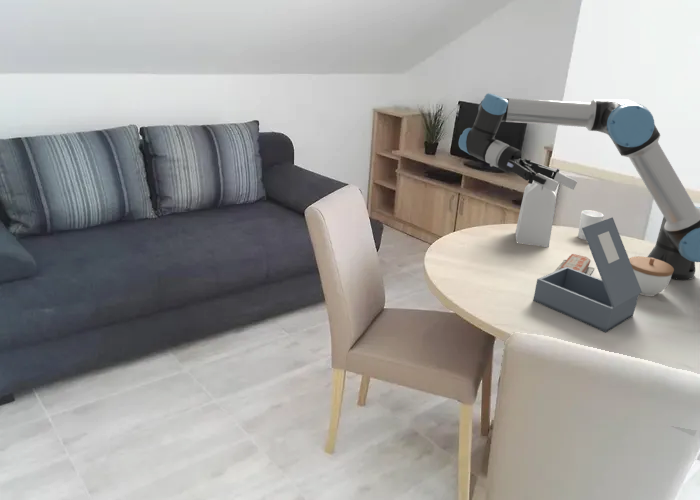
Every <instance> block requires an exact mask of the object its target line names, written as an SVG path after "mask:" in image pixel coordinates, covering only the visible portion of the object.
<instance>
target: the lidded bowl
mask: <svg viewBox="0 0 700 500" xmlns="http://www.w3.org/2000/svg"><path fill="white" fill-rule="evenodd" d="M628 258H629V260H630V263H631V265H632V268H633V270H634V273H635V276H636V278H637V281H638V283H639V286H640V288H641V291H642V292H641V293H639V296H640V295H641V296H645V297H655V296H656V295H657V294H659V293H662V292H663V291H664V290H665V289H666V288H667V287H668V286H669V283H670V281H671V280H672V279H671V276H672V274H673V271H674V268H673V267H672V266H671V265H670V264H668V263H666V262H664V261H661V260H658V259H655V258H650V257H648V256H643V255H642V256H639V255H638V256H636V255H635V256H631V257H628Z"/></svg>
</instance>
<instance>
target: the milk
mask: <svg viewBox="0 0 700 500" xmlns="http://www.w3.org/2000/svg"><path fill="white" fill-rule="evenodd" d="M522 196H523V197H522V200H521V205H520V209H519V213H518V218H517V219H518V220H517V224H516V229H515V232H516V233H515V241H516V242H518V243H517V244H521V243H523V244H522V245H528V244H530V246H535V245H537V247H543V248H549V247H550V240H551V236H552V230H553V229H552V228H553V222H554V216H555V209H556V203H557V195H556V191H555V192H553V191H551V190H549V189H547V188H545V187H543V186H541V185H539V184H537V183H535V182H534V180H533V182H532V184H530V183H528V184H527V185H526V186H525V188H524V191H523V195H522Z"/></svg>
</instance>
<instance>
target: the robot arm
mask: <svg viewBox="0 0 700 500" xmlns="http://www.w3.org/2000/svg"><path fill="white" fill-rule="evenodd" d="M503 122H504V123H505V122H506V123H520V124H521V123H522V124H535V125H536V124H537V125H549V126H551V125H552V126H562V127H563V126H564V127H565V126H566V127H577V128H578V127H579V128H586V129H587V131H589V132H590V131H592V132H600V133H603V134H606V135H607V136H609V138H610V140H611V141H612V143H613V144H614V146H615V147H616V149H617V151H618V152H619V154H620V156H622V157H626V158H629V160H630V163H632V165H633V167H634V169H635V170H636V172H637V173H638V174H639V175H638V176H639V177H640V179H641V181H642V182H643V184H644V186H645V187H646V189H647V191H648V192H649V194H650V195H651V197H652V199H653V200H654V202H655V204H656V206H657V207H658V209H659V210H660V212H661V214H662V222H661V225H660V228H659V231H658V235H657V239H656V242H655V246H653V249H651V251H650V253H649V254H647V255H648V256H647V257H650V258H655V259H658V260H661V261H664V262H666V263H668V264H670V265H671V266H672V267H673V268H674V271H673V274H672V276H671V279H670V280H679V281H680V280H681V281H686V280H687V281H688V280H691V279H693V278H694V277H695V274H696V263H700V207H699V206H695V203H694V202H693V201H692V198H691V197H690V195H689V193H688V191H687V190H686V188H685V186H684V185H683V182H682V181H681V180H680V178H679V176H678V174H677V173H676V171H675V169H674V167H673V166H672V164H671V162H670V160H669V158H668V157H667V155H666V154H665V152H664V150H663V148H662V147H661V145H660V144H659V140H660V138H661V133H660V131H659V130H658V128H657V127H656V124H655V119H654V116H653V114H652V113H651V111H650V110H649V109H648V108H647V107H646V106H644V105H643V104H640V103H637V102H635V101H633V100H630V99H625V98H623V99H622V98H621V99H620V98H619V99H618V98H617V99H592V100H591V101H590V102H583V101H582V102H581V101H565V100H562V101H561V100H549V99H548V100H547V99H528V98H514V97H513V98H506V97H502V96H500V95H497V94H495V93H490V92H488V93H486V94H485V95H484V98H483V99H482V100H481V101H480V103H479V105H478V112H477V115H476V118H475V121H474V123H473V124H472V127H467V128H465V129H464V130H463V131H462V134H460V135H459V139H458V147H459V149H460V150H461V151H463V152H465V153H467V154H468V155H469V156H473V157H474V158H477V159H478V160H480V161H483V162H485V163H487V164H489V166H490V167H491V168H492V167H496V168H498V169H499V170H501V171H503V172H505V173H507V174H510V173H514V174H516V175H517V176H519V177H520V178H522V179H523V180H525V181H527V183H528V184H529V183H530V184H532V182H533V180H534V182H535V183H537V184H539V185H541V186H543V187H545V188H547V189H549V190H551V191H553V192H555V193H556V190H557V189H558V186H559V184H560V185H563V186H564V187H566V188H568V189H570V190H575V188H576V185H577V184H578V182H579V181H578V180H577V179H574V178H572V177H570V176H568V175H565V174H563V173H562V172H560V169H559V168H557V169H554V168H552V167H549V166H546V165H544V164H542V163H538V162H536V161H533V160H531V159H528V158H522V157H523V156H522V151H521V149H518V148H516V147H514V146H511V145H509V144H508V143H505V142H503V141H502V140H499V139H496V137H495V136H496V135H497V132H498V130H499V127H500V125H501V123H503Z"/></svg>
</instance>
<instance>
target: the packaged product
mask: <svg viewBox="0 0 700 500" xmlns="http://www.w3.org/2000/svg"><path fill="white" fill-rule="evenodd" d="M591 261H592V260H591V259H590V258H589V257H587V256H583V255H580V254H575V253H571V254H570V255H569V256H568V257H567V259H563V261H562V262H561V263H560V264H559V266H557V267H556V269H555V270H554V271H553V272H555V271H557V270H560V269H562V268H564V267H569V268H572V269H574V270H577V271H580V272H582V273H585V274H588V275H590V276H591V275H592V274H593V272H594V270H595V267H591V266H590V263H591Z"/></svg>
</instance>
